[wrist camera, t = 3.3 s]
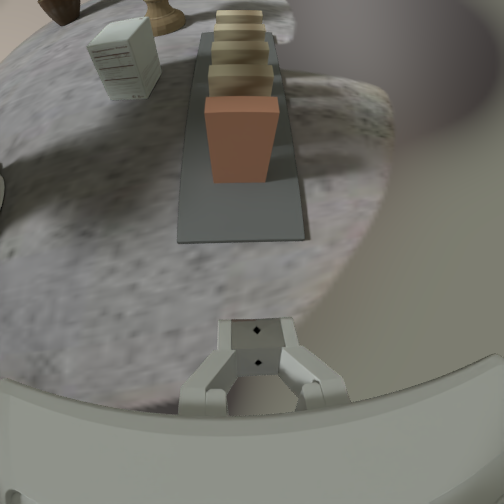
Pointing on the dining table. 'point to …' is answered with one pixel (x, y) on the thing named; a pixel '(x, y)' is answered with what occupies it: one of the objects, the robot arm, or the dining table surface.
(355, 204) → the dining table surface
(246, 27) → the domino
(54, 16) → the plant pot
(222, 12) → the domino
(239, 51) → the domino
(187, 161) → the mat
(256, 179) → the domino
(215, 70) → the domino
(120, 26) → the supplement box
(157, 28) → the oil lamp
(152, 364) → the dining table surface
